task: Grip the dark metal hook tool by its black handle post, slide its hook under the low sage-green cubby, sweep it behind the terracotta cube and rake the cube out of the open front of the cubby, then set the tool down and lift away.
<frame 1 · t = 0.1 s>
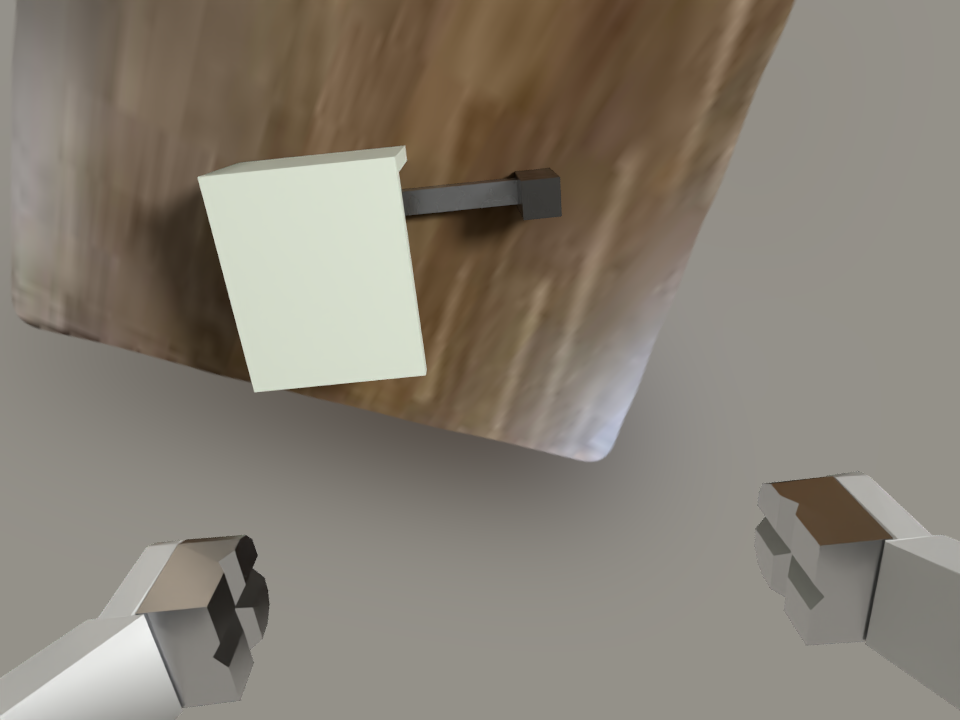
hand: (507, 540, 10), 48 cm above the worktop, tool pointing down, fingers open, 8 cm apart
cubby: (340, 253, 57), on the worktop
hook tool: (533, 187, 55), on the worktop
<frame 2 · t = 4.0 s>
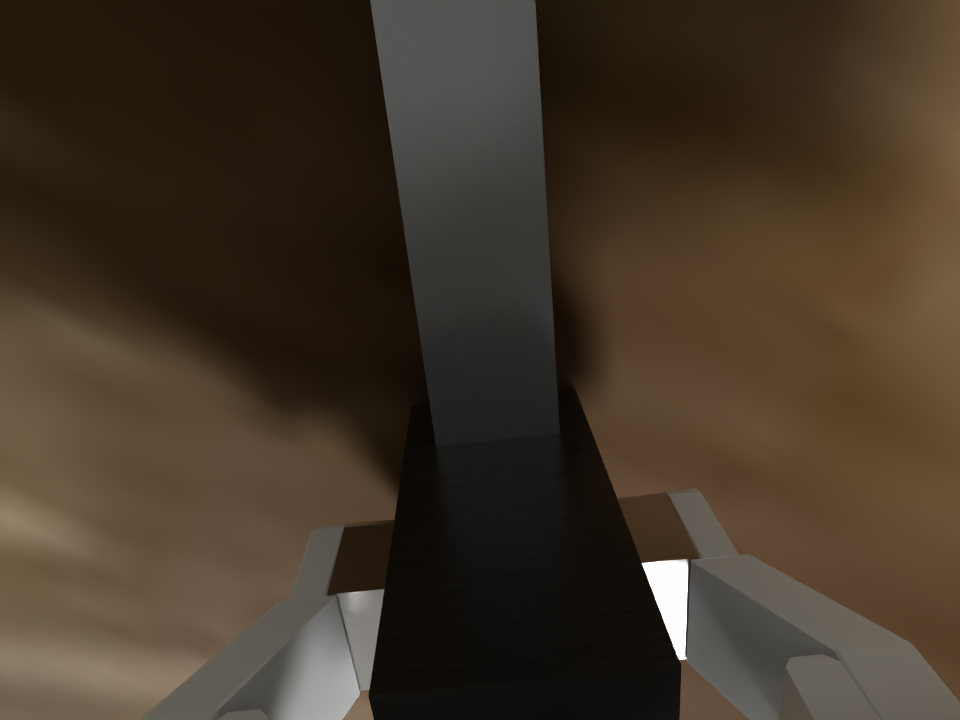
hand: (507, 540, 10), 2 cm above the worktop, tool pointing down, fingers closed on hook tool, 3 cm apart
hook tool: (500, 467, 12), on the worktop, touching gripper
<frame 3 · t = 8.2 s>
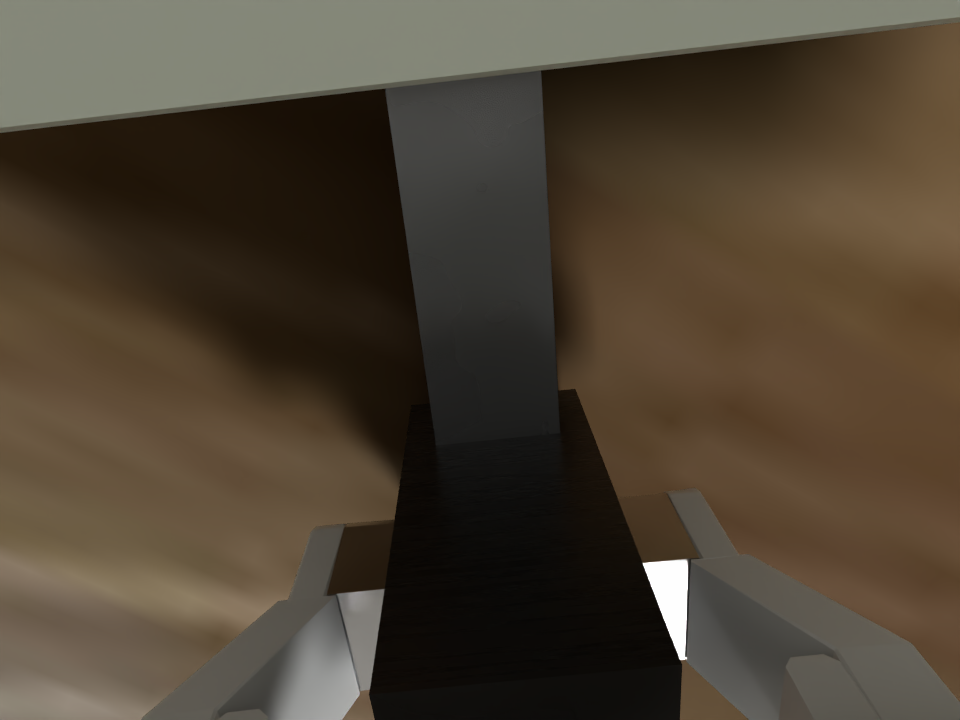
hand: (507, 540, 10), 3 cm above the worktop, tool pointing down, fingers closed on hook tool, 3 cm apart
hook tool: (500, 466, 12), on the worktop, touching cube, gripper
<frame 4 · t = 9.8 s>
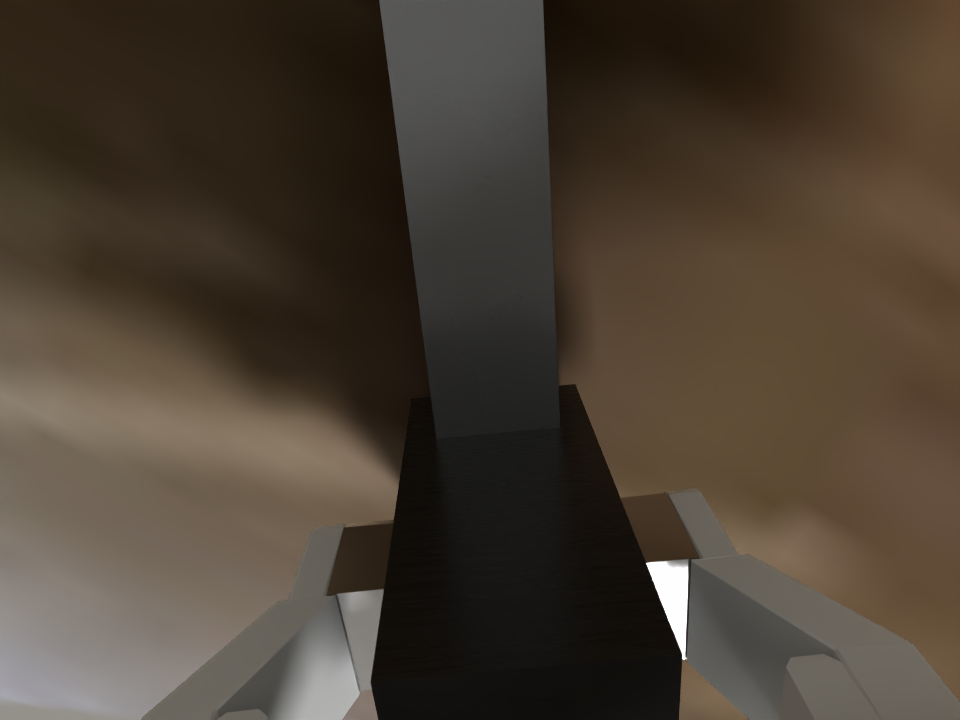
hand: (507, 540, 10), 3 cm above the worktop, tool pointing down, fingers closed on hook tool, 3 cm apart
hook tool: (499, 461, 12), on the worktop, touching cube, gripper
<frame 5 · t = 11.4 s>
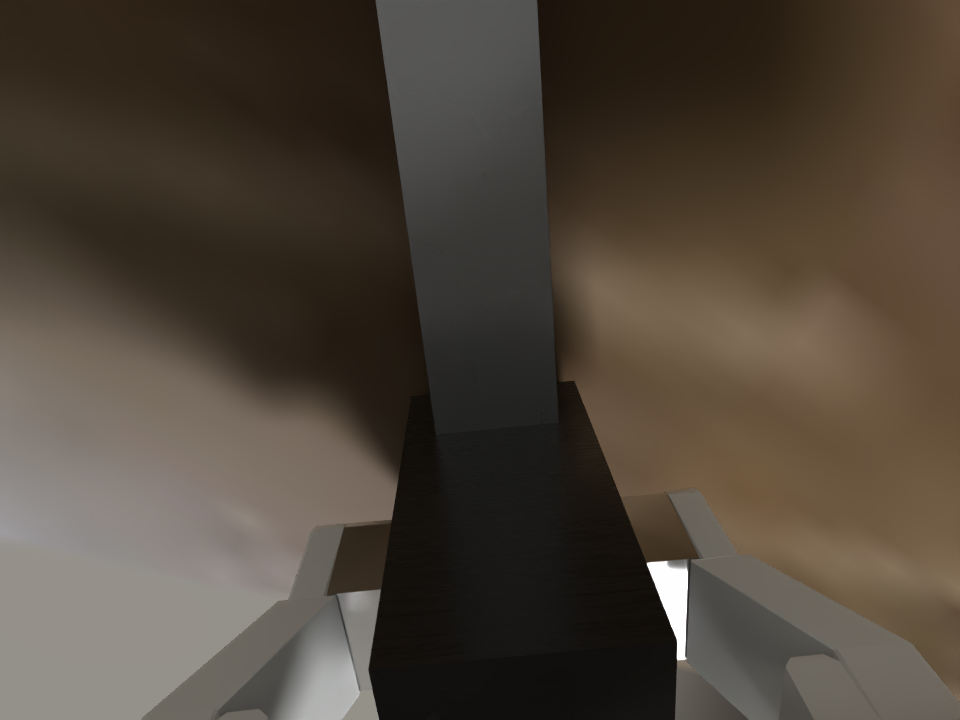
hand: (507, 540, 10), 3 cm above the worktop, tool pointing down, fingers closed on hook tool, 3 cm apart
hook tool: (499, 458, 12), on the worktop, touching cube, gripper
when the fingers open (2 cm above the worktop, at t = 12.3 s): hook tool stays where it is, on the worktop.
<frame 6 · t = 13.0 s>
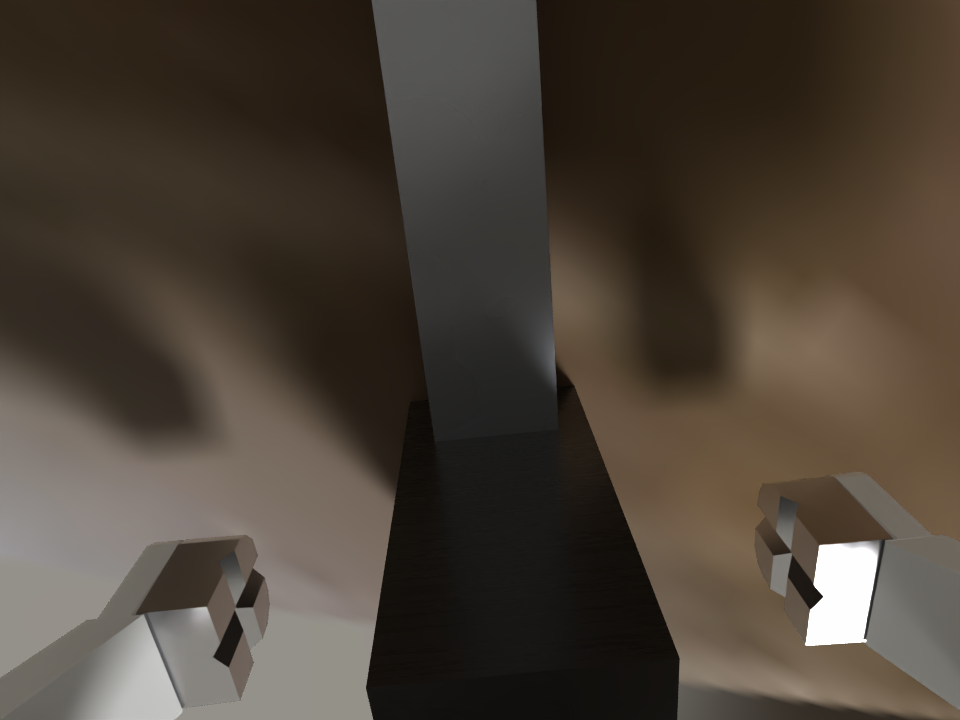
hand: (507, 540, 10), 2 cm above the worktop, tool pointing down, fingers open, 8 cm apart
hook tool: (498, 463, 12), on the worktop
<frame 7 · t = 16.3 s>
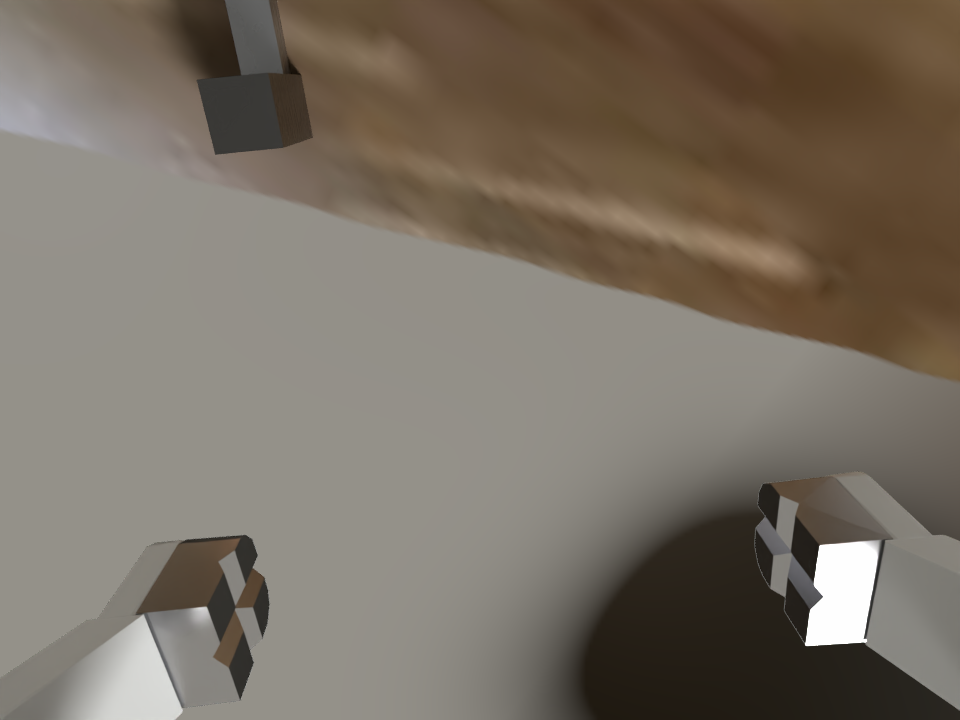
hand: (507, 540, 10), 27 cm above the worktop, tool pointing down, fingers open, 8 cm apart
hook tool: (278, 109, 33), on the worktop
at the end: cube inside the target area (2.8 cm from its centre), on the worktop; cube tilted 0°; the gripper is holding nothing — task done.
